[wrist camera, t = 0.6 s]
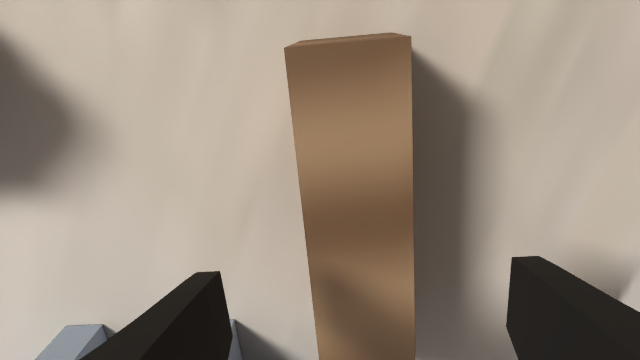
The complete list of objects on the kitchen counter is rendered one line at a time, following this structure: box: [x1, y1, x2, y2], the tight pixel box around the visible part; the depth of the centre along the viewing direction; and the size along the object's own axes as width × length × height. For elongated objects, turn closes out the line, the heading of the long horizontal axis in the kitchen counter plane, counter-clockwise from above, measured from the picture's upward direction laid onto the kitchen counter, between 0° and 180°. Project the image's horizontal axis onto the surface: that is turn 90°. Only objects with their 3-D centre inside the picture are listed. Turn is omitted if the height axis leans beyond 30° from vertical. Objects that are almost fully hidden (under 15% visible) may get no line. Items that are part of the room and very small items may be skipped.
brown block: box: [284, 33, 415, 360], centre depth 16 cm, size 13×4×5 cm, turn 5°
